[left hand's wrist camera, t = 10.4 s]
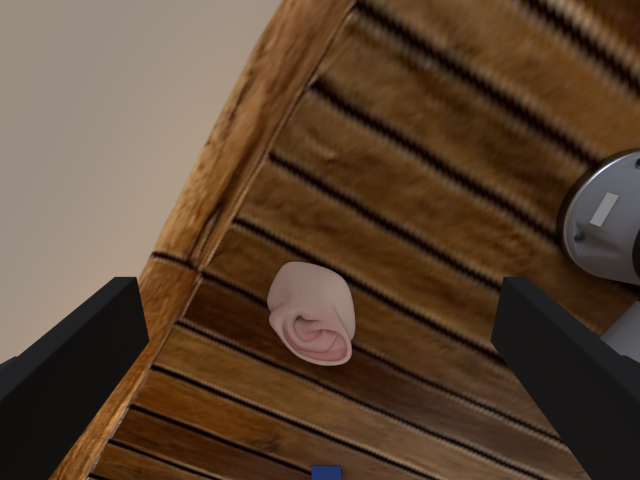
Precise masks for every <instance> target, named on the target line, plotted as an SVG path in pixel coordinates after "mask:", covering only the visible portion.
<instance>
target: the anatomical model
mask: <svg viewBox="0 0 640 480" xmlns="http://www.w3.org/2000/svg"><path fill="white" fill-rule="evenodd" d="M267 304H268V307H269V310H270V311H271V314H270V317H269V322H270V324H271V326H272V328H273V329H274V330H275V331H276V333H277V334H278V335H279V337H280V338H281V340H282V341H283V342H284V344H285V345H286V346H287V347H288V348H289V349H290V350H291V351H292V352H293V353H294V354H295V355H297V356H298V357H300V358H302V359H304V360H306V361H308V362H311V363H315V364H319V365H339V364H343V363H345V362H347V361H348V360H349V359H350V357H351V354H352V346H351V342H350V341H351V340H352V338H353V336H354V333H355V314H354V307H353V301H352V297H351V293H350V290H349V287H348V285H347V283H346V282H345V280H344V279H343V278H342V277H341V276H339V275H338V274H337V273H335V272H333V271H331V270H329V269H327V268H324V267H321V266H318V265H314V264H310V263H305V262H289V263H286V264H285V265H283V266H282V268H281V269H280V270H279V272H278V273H277V275H276V277H275V279H274V281H273V283H272V285H271V288H270V291H269V295H268V299H267Z"/></svg>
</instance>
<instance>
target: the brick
mask: <svg viewBox="0 0 640 480" xmlns="http://www.w3.org/2000/svg"><path fill="white" fill-rule="evenodd" d="M312 480H342V474H341V466H312Z"/></svg>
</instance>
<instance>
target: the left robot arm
mask: <svg viewBox="0 0 640 480" xmlns="http://www.w3.org/2000/svg"><path fill="white" fill-rule="evenodd" d="M557 235H558V240H559V244H560V246H561V249H562V251H563V252H564V254H565V255H566V257H567V258H568V259H569V260H570V261H571V262H572V263H574V264H575V265H577V266H578V267H580V268H582V269H583V270H585V271H586V272H588V273H590V274H592V275H595V276H598V277H602V278H606V279H611V280H616V281H621V282H626V283H632V284H637V285H640V148H637V149H630V150H626V151H622V152H619V153H617V154H614V155H612V156H610V157H607V158H606V159H604V160H602V161H600V162H599V163H597V164H596V165H594V166H593V167H592V168H590V169H589V170H588V171H587V172H586V173H584V174H583V175H582V176H581V177H580V178H579V179H578V181H577V182H576V183H575V184H574V185H573V187H572V188H571V190H570V191H569V193H568V194H567V196H566V198H565V200H564V202H563V204H562V207H561V209H560V213H559V217H558V223H557ZM148 343H149V336H148V331H147V327H146V322H145V317H144V312H143V307H142V302H141V297H140V292H139V288H138V283H137V278H136V277H114V278H113V279H112V280H111V281H109V282H108V283H107V284H106V285H104V286H103V287H102V288H101V289H100V290H98V291H97V292H96V293H95V294H93V295H92V296H91V297H90V298H89V299H87V300H86V301H85V302H84V303H83V304H81V305H80V306H79V307H78V308H76V309H75V310H74V311H73V312H72V313H70V314H69V315H68V316H67V317H65V318H64V319H63V320H62V321H61V322H59V323H58V324H57V325H56V326H55V327H53V328H52V329H51V330H50V331H48V332H47V333H46V334H45V335H44V336H42V337H41V338H40V339H39V340H37V341H36V342H35V343H34V344H32V345H31V346H30V347H29V348H28V349H26V350H25V351H24V352H23V353H22V354H20V355H19V356H18V357H13V358H11V359H9V360H7V361H6V362H4V363H2V364H0V480H48V479H49V478H50V476H51V475H52V474H53V472H54V471H55V470H56V468H57V467H58V466H59V464H60V463H61V461H62V460H63V459H64V457H65V456H66V455H67V453H68V452H69V451H70V449H71V448H72V446H73V445H74V444H75V442H76V441H77V440H78V438H79V437H80V436H81V434H82V433H83V431H84V430H85V429H86V427H87V426H88V425H89V423H90V422H91V421H92V419H93V418H94V416H95V415H96V414H97V412H98V411H99V410H100V408H101V407H102V406H103V404H104V403H105V401H106V400H107V399H108V397H109V396H110V395H111V393H112V392H113V390H114V389H115V388H116V386H117V385H118V384H119V382H120V381H121V380H122V378H123V377H124V375H125V374H126V373H127V371H128V370H129V369H130V367H131V366H132V365H133V363H134V362H135V360H136V359H137V358H138V356H139V355H140V354H141V352H142V351H143V350H144V348H145V347H146V345H147V344H148ZM491 343H492V344H493V345H494V347H495V348H496V350H497V351H498V352H499V354H500V355H501V356H502V358H503V359H504V360H505V362H506V363H507V365H508V366H509V367H510V369H511V370H512V371H513V373H514V374H515V375H516V377H517V378H518V380H519V381H520V382H521V384H522V385H523V386H524V388H525V389H526V390H527V392H528V393H529V395H530V396H531V397H532V399H533V400H534V401H535V403H536V404H537V406H538V407H539V408H540V410H541V411H542V412H543V414H544V415H545V416H546V418H547V419H548V421H549V422H550V423H551V425H552V426H553V427H554V429H555V430H556V431H557V433H558V434H559V436H560V437H561V438H562V440H563V441H564V442H565V444H566V445H567V446H568V448H569V449H570V451H571V452H572V453H573V455H574V456H575V457H576V459H577V460H578V461H579V463H580V464H581V466H582V467H583V468H584V470H585V471H586V472H587V474H588V475H589V476H590V478H591V479H592V480H640V298H639V299H638V300H636V301H635V302H634V303H633V304H632V305H631V306H630V307H629V308H628V309H627V310H626V311H625V312H624V313H623V314H622V315H621V316H620V317H619V318H618V319H617V320H616V321H615V322H614V323H613V324H612V325H611V326H610V327H609V328H608V329H607V330H606V331H605V332H604V333H603V334H602V335H601V336H600V337H598V336H597V335H595V334H594V333H593V332H592V331H590V330H589V329H588V328H587V327H586V326H584V325H583V324H582V323H581V322H579V321H578V320H577V319H576V318H575V317H573V316H572V315H571V314H570V313H568V312H567V311H566V310H565V309H564V308H562V307H561V306H560V305H559V304H557V303H556V302H555V301H554V300H553V299H551V298H550V297H549V296H548V295H547V294H545V293H544V292H543V291H542V290H540V289H539V288H538V287H537V286H536V285H534V284H533V283H532V282H531V281H529V280H528V279H527V278H526V277H504V278H503V283H502V288H501V292H500V297H499V302H498V307H497V312H496V317H495V322H494V327H493V331H492V336H491Z"/></svg>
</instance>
